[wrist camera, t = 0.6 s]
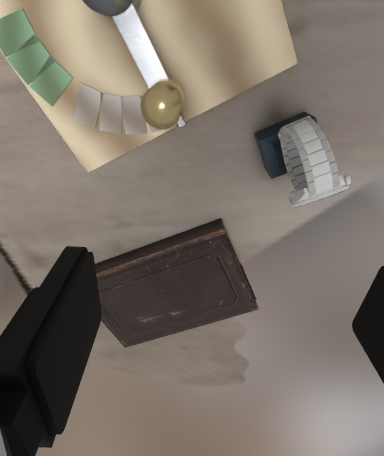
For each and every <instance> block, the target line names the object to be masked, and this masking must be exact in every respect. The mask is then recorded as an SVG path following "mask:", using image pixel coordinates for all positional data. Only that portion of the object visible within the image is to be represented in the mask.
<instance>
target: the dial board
mask: <svg viewBox="0 0 384 456" xmlns="http://www.w3.org/2000/svg"><path fill="white" fill-rule="evenodd" d="M138 12H139V14H140V16H141V18H142V20H143V22H144V24H145V26H146V29H147V31H148V33H149V35H150V37H151V39H152V41H153V43H154V45H155V48H156V50H157V52H158V54H159V56H160V58H161V60H162V62H163V64H164V66H165V69H166V71H167V73H168V75H169V77H170V78H174V79H176V80H177V81H178V82H179V83H180V84H181V86H182V87H183V90H184V100H183V106H182V112H181V115H182V117H183V119H184V121H185V122H186V121H188V120H190V119H192V118H194V117H196V116H198V115H200V114H202V113H203V112H205V111H207V110H209V109H211V108H213V107H215V106H217V105H219V104H221V103H223V102H225V101H227V100H228V99H230V98H232V97H234V96H236V95H238V94H240V93H242V92H244V91H246V90H248V89H250V88H251V87H253V86H255V85H257V84H259V83H261V82H263V81H265V80H267V79H269V78H271V77H273V76H274V75H276V74H278V73H280V72H282V71H284V70H286V69H288V68H290V67H292V66H294V65H296V64H297V63H298V62H297V59H296V55H295V51H294V47H293V43H292V39H291V36H290V32H289V28H288V24H287V20H286V17H285V13H284V9H283V5H282V1H281V0H141V3H140V6H139V8H138ZM0 51H1V53H2V54H3V55H4V57H5V58H6V59H7V61H8V62H9V64H10V65H11V66H12V68H13V69H14V71H15V72H16V73H17V75H18V76H19V78H20V79H21V80H22V82H23V83H24V85H25V86H26V87H27V89H28V90H29V92H30V93H31V94H32V96H33V97H34V99H35V100H36V101H37V103H38V104H39V105H40V107H41V108H42V110H43V111H44V112H45V114H46V115H47V117H48V118H49V119H50V121H51V122H52V124H53V125H54V126H55V128H56V129H57V131H58V132H59V133H60V135H61V136H62V138H63V139H64V140H65V142H66V143H67V145H68V146H69V147H70V149H71V150H72V151H73V153H74V154H75V156H76V157H77V158H78V160H79V161H80V163H81V164H82V165H83V167H84V168H85V170H86V171H87V172H90V171H92V170H94V169H96V168H98V167H100V166H102V165H104V164H106V163H108V162H109V161H111V160H113V159H115V158H117V157H119V156H121V155H123V154H125V153H127V152H129V151H131V150H132V149H134V148H136V147H138V146H140V145H142V144H144V143H146V142H148V141H150V140H152V139H154V138H156V137H157V136H159V135H161V134H163V133H165V132H167V131H169V130H171V129H173V128H175V127H177V126H179V125H178V123H176V124H175V125H174V126H173V127H171V128H169V129H164V130H160V129H156V128H153V127H152V126H150V125H149V124H148V123H147V122H146V121H145V120H144V118H143V116H142V113H141V108H140V105H141V99H142V97H143V95H144V93H145V92H146V91H147V90H148V89H149V87H148V85H147V83H146V81H145V79H144V77H143V75H142V73H141V71H140V69H139V67H138V66H137V64H136V62H135V60H134V58H133V56H132V54H131V52H130V50H129V48H128V46H127V44H126V42H125V40H124V38H123V37H122V35H121V33H120V31H119V29H118V27H117V25H116V23H115V21H114V19H111V18H109V17H106V16H104V15H102V14H99V13H97V12H95V11H93V10H92V9H90V8H89V7H88V6H87V5H86V4H85V3H84V2H83V1H82V0H0Z"/></svg>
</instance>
